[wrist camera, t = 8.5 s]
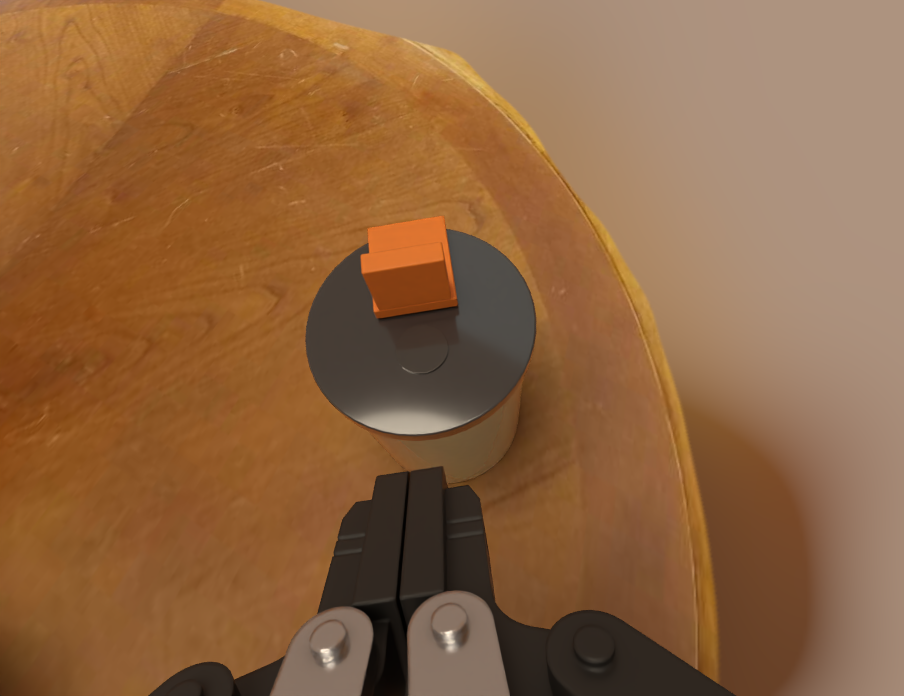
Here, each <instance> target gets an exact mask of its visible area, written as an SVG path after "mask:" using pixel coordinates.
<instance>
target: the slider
mask: <svg viewBox="0 0 904 696" xmlns="http://www.w3.org/2000/svg"><path fill="white" fill-rule="evenodd" d="M367 231H368V244H369V253H367V254H362V255H361V257H360V258H361V273H362V275H363V277H364V279H365V282H366V284H367V286H368V288H369V290H370V292H371V295H372V297H373V310H374V313H375V315H376V317H377V318H385V317H391V316H397V315H403V314H410V313H416V312H422V311H428V310H435V309H441V308H447V307H453V306H457V305H458V301H457V295H456V289H455V282H454V276H453V270H452V263H451V257H450V251H449V244H448V238H447V232H446V225H445V219H444V216H438V217H432V218H426V219H420V220H414V221H408V222H402V223H395V224H389V225H383V226H377V227H371V228H368V229H367Z"/></svg>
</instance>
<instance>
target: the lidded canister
mask: <svg viewBox="0 0 904 696" xmlns="http://www.w3.org/2000/svg"><path fill="white" fill-rule="evenodd" d="M446 232H447V238H448V244H449V251H450V257H451V263H452V270H453V276H454V282H455V289H456V295H457V301H458V305H457V306H453V307H447V308H441V309H435V310H428V311H422V312H416V313H410V314H403V315H397V316H391V317H385V318H377V317H376V315H375V313H374V310H373V297H372V295H371V292H370V290H369V288H368V286H367V284H366V282H365V279H364V277H363V275H362V273H361V258H360V257H361V255H362V254H367V253H369V244H368V243H367V244H365V245H364V246H362V247H360V248H359V249H357V250H355V251H354V252H353V253H351V254H350V255H349V256H347V257H346V258H345V259H344V260H343V261H342V262H341V263H340V264H339V265H337V266H336V267H335V269H334V270H333V271H332V272H331V273H330V274H329V276H328V277H327V278H326V280H325V281H324V283H323V284H322V286H321V287H320V289H319V291H318V293H317V295H316V297H315V299H314V301H313V303H312V306H311V309H310V312H309V316H308V321H307V326H306V339H305V342H306V354H307V358H308V363H309V367H310V370H311V372H312V375H313V377H314V380H315V381H316V383H317V385H318V387H319V388H320V390H321V392H322V393H323V394H324V396H325V397H326V398H327V399H328V400H329V402H330V403H331V404H332V405H333V406H334V407H335V408H336V409H337V410H338V411H339V412H340V413H341V414H343V415H344V416H345V417H346V418H347V419H349V420H350V421H352V422H353V423H354V424H356V425H357V426H359V427H361V428H363V429H365V430H367V431H368V432H369V433H370V434H371V435H372V436H373V437H374V438H375V439H376V440H377V441H378V443H379V444H380V445H381V446H382V447H383V448H384V449H385V450H386V451H387V452H388V453H389V454H390V456H391V457H392V458H393V459H394V460H395V461H396V462H397V463H398V464H399V465H400V466H401V467H402V468H404V469H405V470H407V471H409V472H410V473H411V471H413V470H419V469H426V468H432V467H439V466H443V468H444V471H445V476H446V481H447V483H457V482H462V481H466V480H469V479H472V478H475V477H477V476H479V475H481V474H483V473H485V472H486V471H488V470H489V469H490V468H492V467H493V466H494V465H495V464H496V463H497V462H499V461H500V459H501V458H502V457H503V456H504V455H505V453H506V452H507V450H508V449H509V447H510V445H511V443H512V441H513V439H514V437H515V433H516V430H517V426H518V419H519V410H520V401H521V392H522V383H523V379H524V376H525V374H526V372H527V370H528V368H529V365H530V362H531V358H532V355H533V351H534V344H535V337H536V313H535V306H534V302H533V299H532V296H531V292H530V290H529V288H528V286H527V284H526V282H525V280H524V278H523V277H522V275H521V274H520V272H519V271H518V269H517V268H516V267H515V266H514V264H513V263H512V262H511V261H510V260H509V259H508V258H507V257H506V256H505V255H504V254H502V253H501V252H500V251H499V250H498V249H496V248H495V247H493V246H492V245H490V244H488V243H487V242H485V241H483V240H481V239H479V238H477V237H475V236H472V235H469V234H466V233H463V232H459V231H454V230H450V229H446Z"/></svg>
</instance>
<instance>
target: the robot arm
mask: <svg viewBox="0 0 904 696" xmlns="http://www.w3.org/2000/svg"><path fill="white" fill-rule="evenodd" d="M149 696H736V695H734V694H733V693H731V692H729V691H728V690H727V689H725V688H724V687H722V686H720V685H719V684H718V683H716V682H714V681H713V680H711V679H710V678H708V677H707V676H705V675H704V674H702V673H701V672H699V671H698V670H696V669H695V668H693V667H692V666H690V665H689V664H687V663H686V662H684V661H683V660H681V659H680V658H678V657H677V656H675V655H674V654H672V653H671V652H669V651H668V650H666V649H665V648H663V647H662V646H660V645H659V644H657V643H656V642H654V641H653V640H651V639H650V638H648V637H646V636H645V635H643V634H642V633H640V632H639V631H637V630H636V629H634V628H633V627H631V626H630V625H628V624H627V623H625V622H624V621H622V620H621V619H619V618H617V617H615V616H613V615H611V614H608V613H605V612H601V611H594V610H582V611H577V612H573V613H570V614H568V615H566V616H564V617H562V618H561V619H560V620H559V621H557V622H556V623H555V624H554V626H553V627H552V628H551V630H550V629H544V628H538V627H532V626H528V625H524V624H521V623H519V622H516V621H514V620H513V619H511V618H509V617H508V616H507V615H505V614H504V613H503V612H502V611H501V610H500V609H499V607H498V606H497V604H496V603H495V596H494V589H493V581H492V574H491V566H490V558H489V551H488V545H487V539H486V533H485V527H484V521H483V515H482V509H481V503H480V498H479V497H478V496H477V495H476V494H475V492H474V491H473V490H472V489H471V488H470V486H469V485H466V486H459V487H453V488H448V486H447V481H446V476H445V471H444V468H443V466H439V467H432V468H426V469H419V470H413V471H411V473H410V472H409V471H407V472H400V473H394V474H387V475H380V476H377V477H376V481H375V486H374V491H373V496H372V500H367V501H360V502H356V503H355V504H354V505H353V507H352V508H351V509H350V510H349V512H348V513H347V514H346V515H345V517H344V518H343V519H342V523H341V527H340V531H339V534H338V541H337V542H336V546H335V549H334V557H332V561H331V564H330V568H329V572H328V576H327V579H326V583H325V587H324V590H323V594H322V598H321V602H320V605H319V609H318V613H317V615H315V616H314V617H312V618H311V619H310V620H308V621H307V622H306V623H305V624H304V625H303V626H302V627H301V628H300V629H299V630H298V631H297V632H296V634H295V635H294V637H293V638H292V640H291V642H290V644H289V646H288V649H287V652H286V654H285V656H284V657H282V658H280V659H279V660H277V661H275V662H273V663H271V664H269V665H267V666H264V667H262V668H260V669H258V670H255V671H253V672H251V673H248V674H246V675H244V676H242V677H239V678H237V679H235V680H234V678H233V676H232V674H231V671H230V670H229V669H228V668H227V667H226V666H224V665H223V664H220V663H217V662H204V663H199V664H195V665H193V666H190V667H188V668H186V669H184V670H182V671H180V672H178V673H176V674H175V675H173V676H172V677H170V678H169V679H168V680H167V681H165V682H164V683H163V684H162V685H160V686H159V687H158V688H157V689H156V690H154V691H153V692H152V693H151V694H150V695H149Z"/></svg>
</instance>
